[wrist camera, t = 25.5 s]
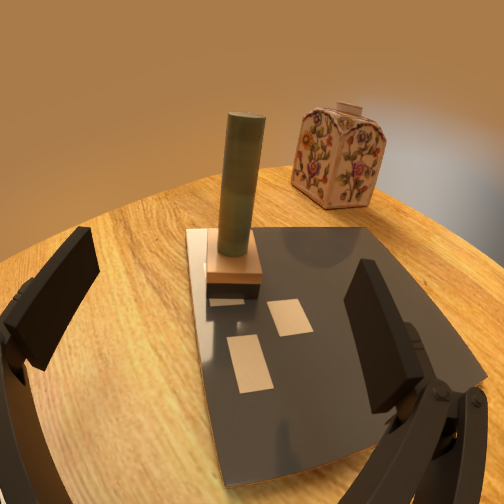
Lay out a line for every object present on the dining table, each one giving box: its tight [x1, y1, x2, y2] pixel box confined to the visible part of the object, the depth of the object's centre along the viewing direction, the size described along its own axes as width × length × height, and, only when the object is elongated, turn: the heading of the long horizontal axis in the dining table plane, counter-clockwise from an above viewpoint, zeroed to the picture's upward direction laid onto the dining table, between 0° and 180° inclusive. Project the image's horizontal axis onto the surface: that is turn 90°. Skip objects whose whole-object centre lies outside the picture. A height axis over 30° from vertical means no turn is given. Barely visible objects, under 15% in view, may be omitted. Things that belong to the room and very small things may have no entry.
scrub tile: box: [186, 227, 488, 489], centre depth 26 cm, size 28×26×1 cm
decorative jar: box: [291, 101, 386, 209], centre depth 47 cm, size 12×12×18 cm
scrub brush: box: [206, 112, 266, 299], centre depth 24 cm, size 7×5×15 cm, turn 7°
